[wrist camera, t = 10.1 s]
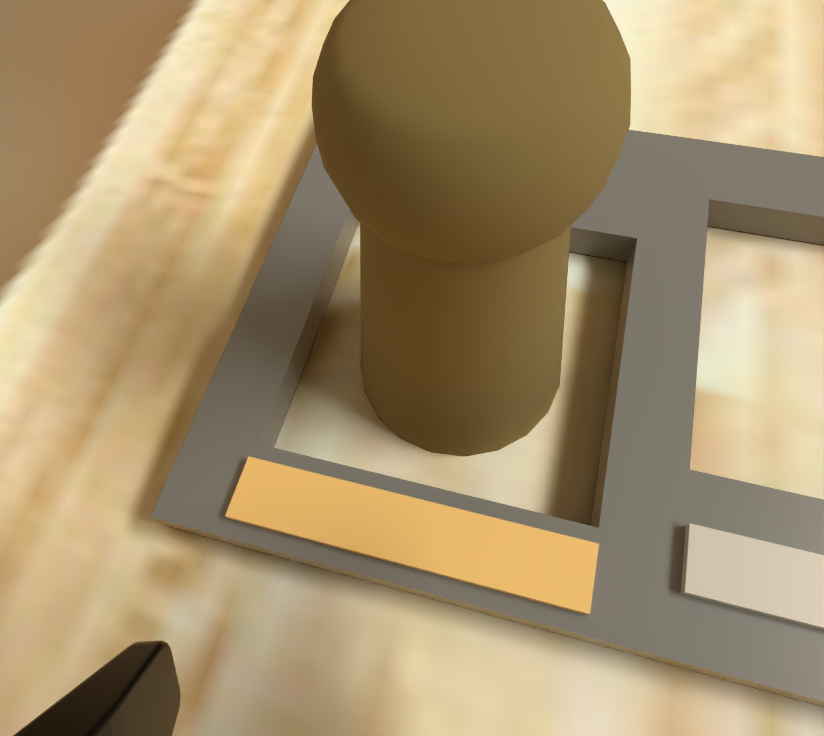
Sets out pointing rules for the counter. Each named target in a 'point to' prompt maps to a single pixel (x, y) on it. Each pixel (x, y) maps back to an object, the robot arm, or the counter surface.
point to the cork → (468, 197)
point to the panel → (619, 460)
